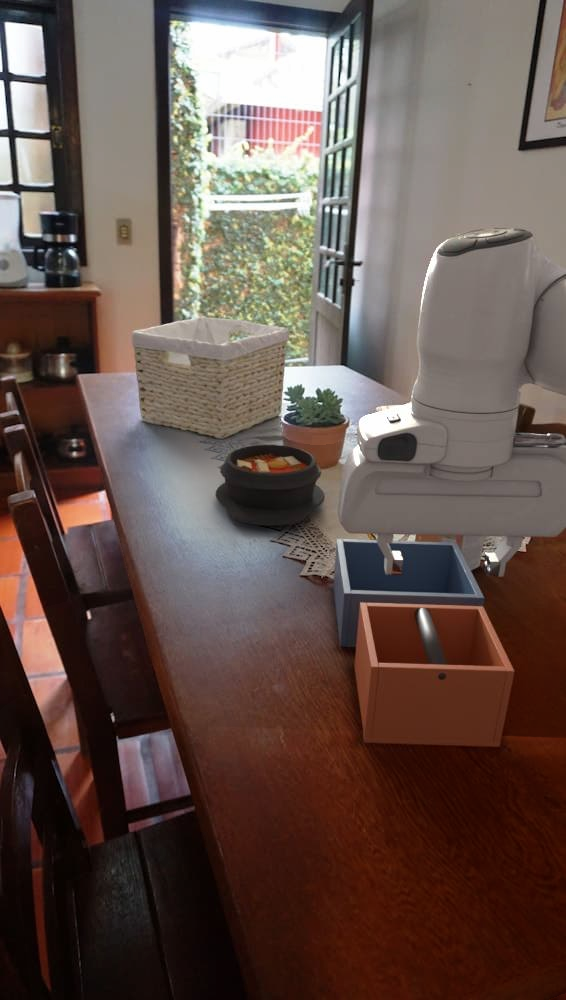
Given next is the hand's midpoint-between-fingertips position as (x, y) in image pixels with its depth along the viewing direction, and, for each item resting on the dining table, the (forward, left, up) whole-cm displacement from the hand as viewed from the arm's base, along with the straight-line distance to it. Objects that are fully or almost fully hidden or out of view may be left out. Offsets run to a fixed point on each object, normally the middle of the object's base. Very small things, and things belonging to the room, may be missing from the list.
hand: (442, 572), depth 64 cm
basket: (+32, -100, -16) cm, 106 cm away
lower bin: (0, -16, -16) cm, 22 cm away
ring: (-1, -36, -16) cm, 39 cm away
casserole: (+17, -51, -16) cm, 56 cm away
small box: (-9, -31, -16) cm, 36 cm away
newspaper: (-14, -101, -16) cm, 103 cm away
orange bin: (0, 0, -16) cm, 16 cm away
